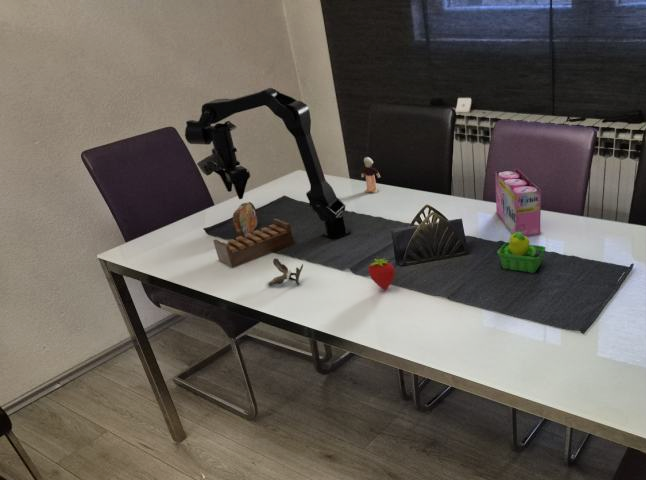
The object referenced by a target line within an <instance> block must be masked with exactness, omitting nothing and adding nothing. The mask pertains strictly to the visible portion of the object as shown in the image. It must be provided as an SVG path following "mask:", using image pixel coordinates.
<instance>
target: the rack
mask: <svg viewBox="0 0 646 480" xmlns="http://www.w3.org/2000/svg"><path fill="white" fill-rule="evenodd" d="M272 222H273V224H270V225H268V227H266V226H265V227H262V228H260V230H258V229H256V230H253V232H252V233H251V234H250V233H247V234H245V236H239V235H238V236H236V237H235V239H236V240H235V239H233V238H231V239H228V240H227V243H226V242H225V241H220V240H218V239H213V240H212V242H213V245H214V248H215V251H216V255H217V258H218V261H219V262H221V263H223V264H225V265H226V266H228V267H230V268H232V269H233V268H235V267H237V266H240V265H243V264H245V263H248V262H250V261H254V260H256V259H258V258H261V257H264V256H266V255H270V254H271V253H273V252H276V251H279V250H281V249H284V248H287V247H290V246H291V245H294V244H295V241H294V237H293V233H292V229H291V225H290V223H288V222H286V221H283V220H281V219H278V218H273V219H272Z"/></svg>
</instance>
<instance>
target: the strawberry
mask: <svg viewBox="0 0 646 480" xmlns="http://www.w3.org/2000/svg"><path fill="white" fill-rule="evenodd" d="M389 262H390V260H388V259H387V260H386V257H383V258H379V257H377V258H374V262H372V263H369V266H368V274H369V276H370V279H371V280H372V281H373V283H375V284H376V285H377V286H378V287H379V288H380V289H381V290H383V291H387V290H388V288H389V287H390V286H391V284H392V283H393V281H394V280H395V275H396V269H395V267H394V266H393V265H392V264H391V263H389Z"/></svg>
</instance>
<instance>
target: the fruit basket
mask: <svg viewBox="0 0 646 480" xmlns="http://www.w3.org/2000/svg"><path fill="white" fill-rule="evenodd" d="M546 249H547V248H546V246H544V245H535V244H530V239H529V238H528V236H524V235H523V234H522V233H521V232H516V233H514V234H513V233H512V234H511V235H510V237H509V241H507V242H505V243H504V244H503V245H502V246H501V247H500V248H499V249H498V250H497V252H496V253H497V256H498V258H499V260H500V264H501V266H502V269H503V270H510V271H519V272H525V273H531V274H535V272H536V271H537V270H538V269H539V268H540V266H541V263H542V260H543V257H544V253H545V251H546Z"/></svg>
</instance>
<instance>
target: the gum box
mask: <svg viewBox="0 0 646 480" xmlns="http://www.w3.org/2000/svg"><path fill="white" fill-rule="evenodd" d="M495 204H496V205H495V209H496V210H495V211H496V214H497V215H498V216H499V218H500V219H501V220H502V222H503V223H504V224H505V226H506V227H507V228H508V230H509V231H510V232H511V233H512V234H514V233H516V232H521V233H522V234H523V235H524V236H526V237H531V236H538V235H541V216H542V215H541V214H542V213H541V211H542V210H541V209H542V208H541V207H542V206H541V205H542V191H541V189H540V188H539V187H538V186H537V185H536V184H534V183H533V182H532V181H531V180H530V179H529V178H528V177H527V176H526V175H525V174H523V172H522V171H521V170H519V168H513V169H512V170H511V171H502V172H499V171H498V170H496V171H495Z"/></svg>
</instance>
